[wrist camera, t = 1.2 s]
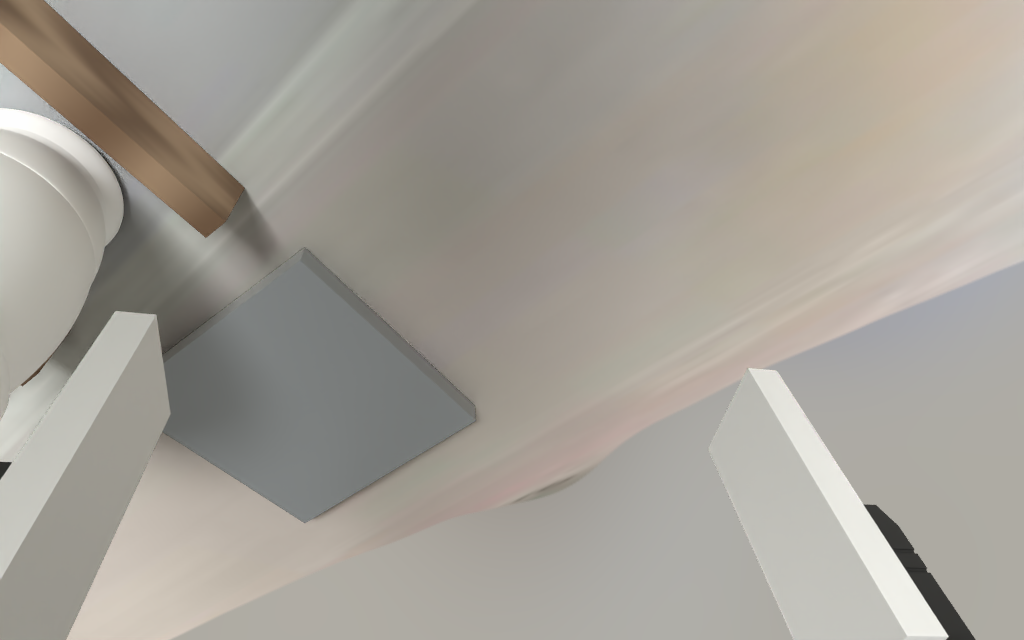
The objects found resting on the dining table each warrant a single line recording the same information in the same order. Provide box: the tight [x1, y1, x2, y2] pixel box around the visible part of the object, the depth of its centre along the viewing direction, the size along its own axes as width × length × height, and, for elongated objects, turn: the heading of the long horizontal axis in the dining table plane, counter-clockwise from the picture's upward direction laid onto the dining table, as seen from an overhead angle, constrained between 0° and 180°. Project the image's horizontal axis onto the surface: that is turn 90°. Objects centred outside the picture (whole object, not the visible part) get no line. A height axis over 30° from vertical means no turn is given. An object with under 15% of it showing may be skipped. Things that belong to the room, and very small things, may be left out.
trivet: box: [162, 247, 476, 523], centre depth 44 cm, size 16×16×2 cm
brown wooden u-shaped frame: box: [0, 0, 244, 386], centre depth 33 cm, size 14×16×4 cm
